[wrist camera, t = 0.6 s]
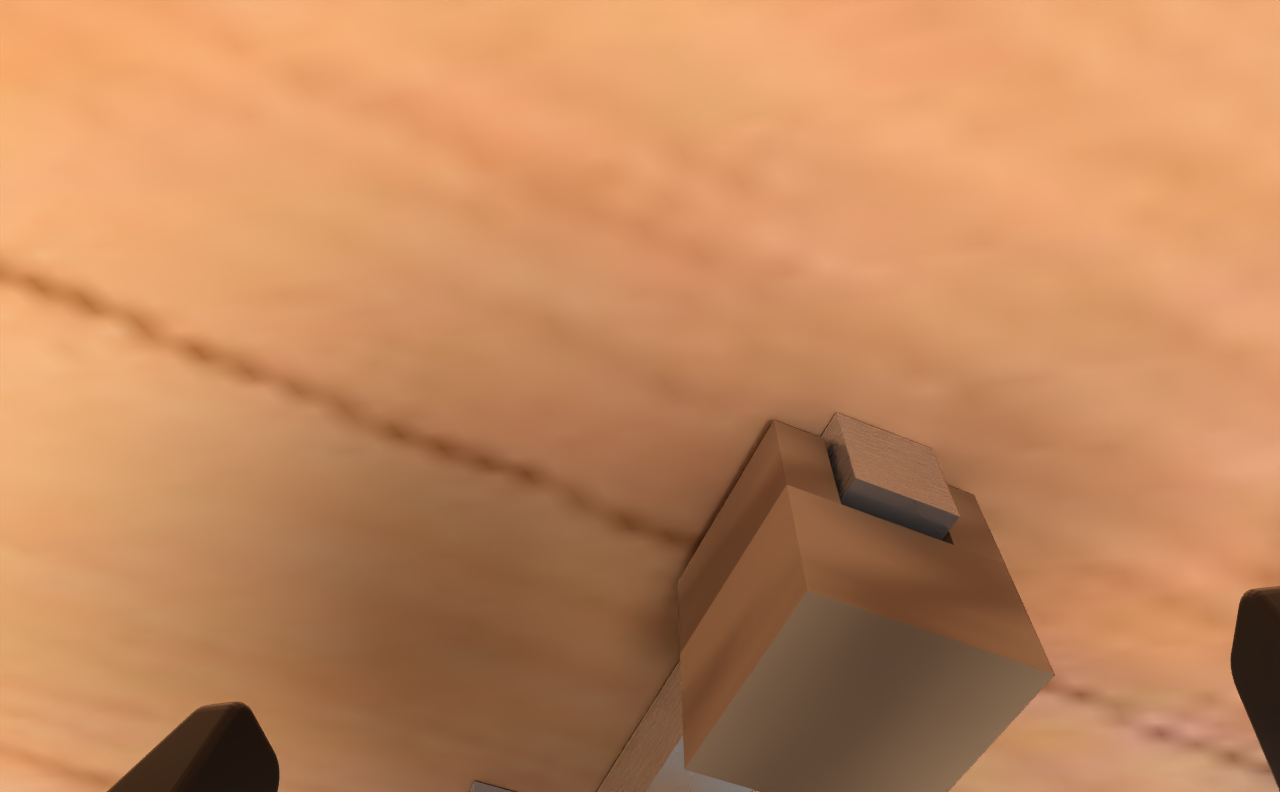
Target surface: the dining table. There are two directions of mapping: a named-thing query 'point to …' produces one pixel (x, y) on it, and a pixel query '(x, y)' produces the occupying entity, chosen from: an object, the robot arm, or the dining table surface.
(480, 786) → the end cabinet
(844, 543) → the block
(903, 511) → the rail
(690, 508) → the dining table surface
